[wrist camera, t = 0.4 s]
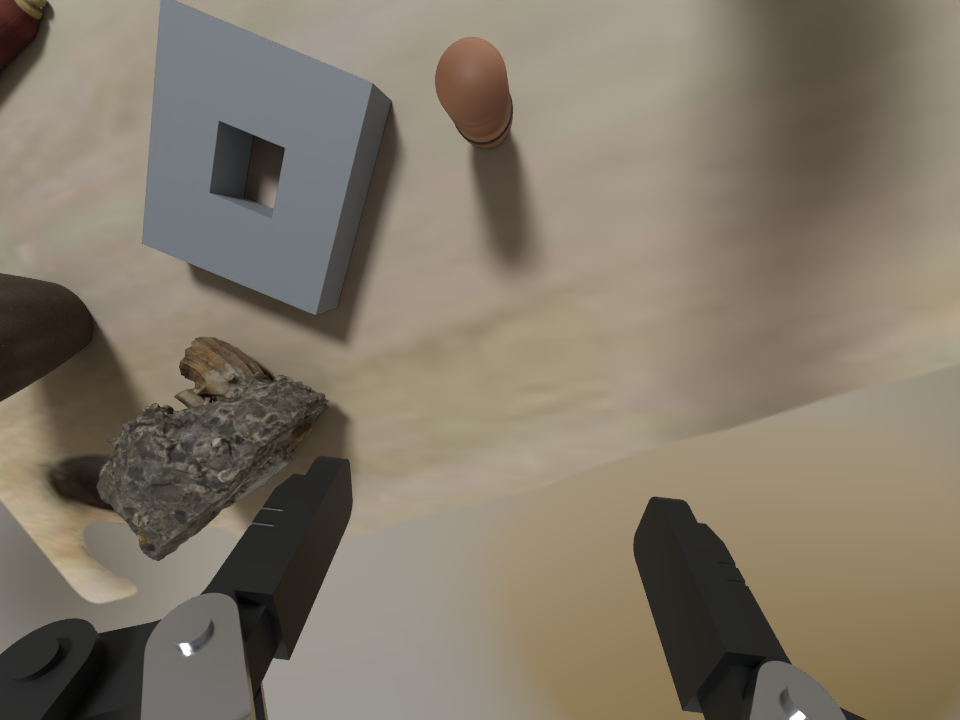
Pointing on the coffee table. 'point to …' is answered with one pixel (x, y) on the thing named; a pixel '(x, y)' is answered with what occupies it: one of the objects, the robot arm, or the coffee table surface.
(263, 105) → the slate socket board
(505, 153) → the coffee table surface
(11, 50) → the gavel
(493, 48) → the cherry peg
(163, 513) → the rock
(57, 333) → the plant pot
